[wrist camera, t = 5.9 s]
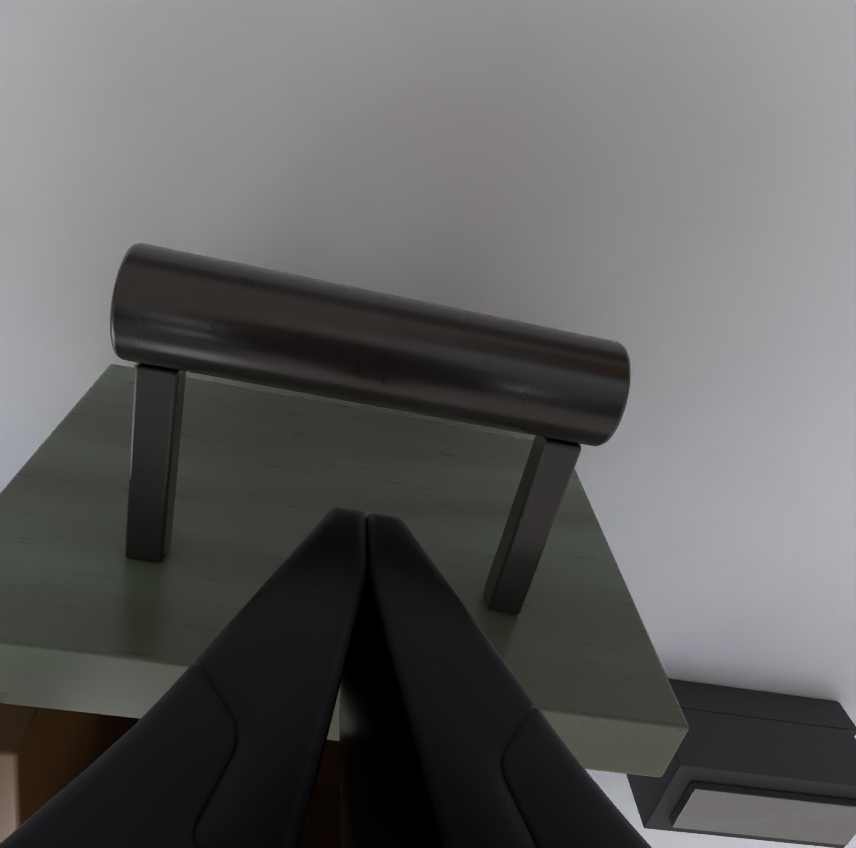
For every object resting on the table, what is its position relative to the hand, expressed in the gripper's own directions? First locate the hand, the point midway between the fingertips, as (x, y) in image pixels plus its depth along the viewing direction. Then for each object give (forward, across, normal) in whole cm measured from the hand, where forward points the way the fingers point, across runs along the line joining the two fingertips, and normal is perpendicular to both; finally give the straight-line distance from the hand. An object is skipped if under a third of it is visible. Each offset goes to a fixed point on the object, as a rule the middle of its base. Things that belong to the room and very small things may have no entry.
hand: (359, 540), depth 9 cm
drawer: (+9, 0, +7) cm, 11 cm away
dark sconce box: (+10, -15, +12) cm, 22 cm away
